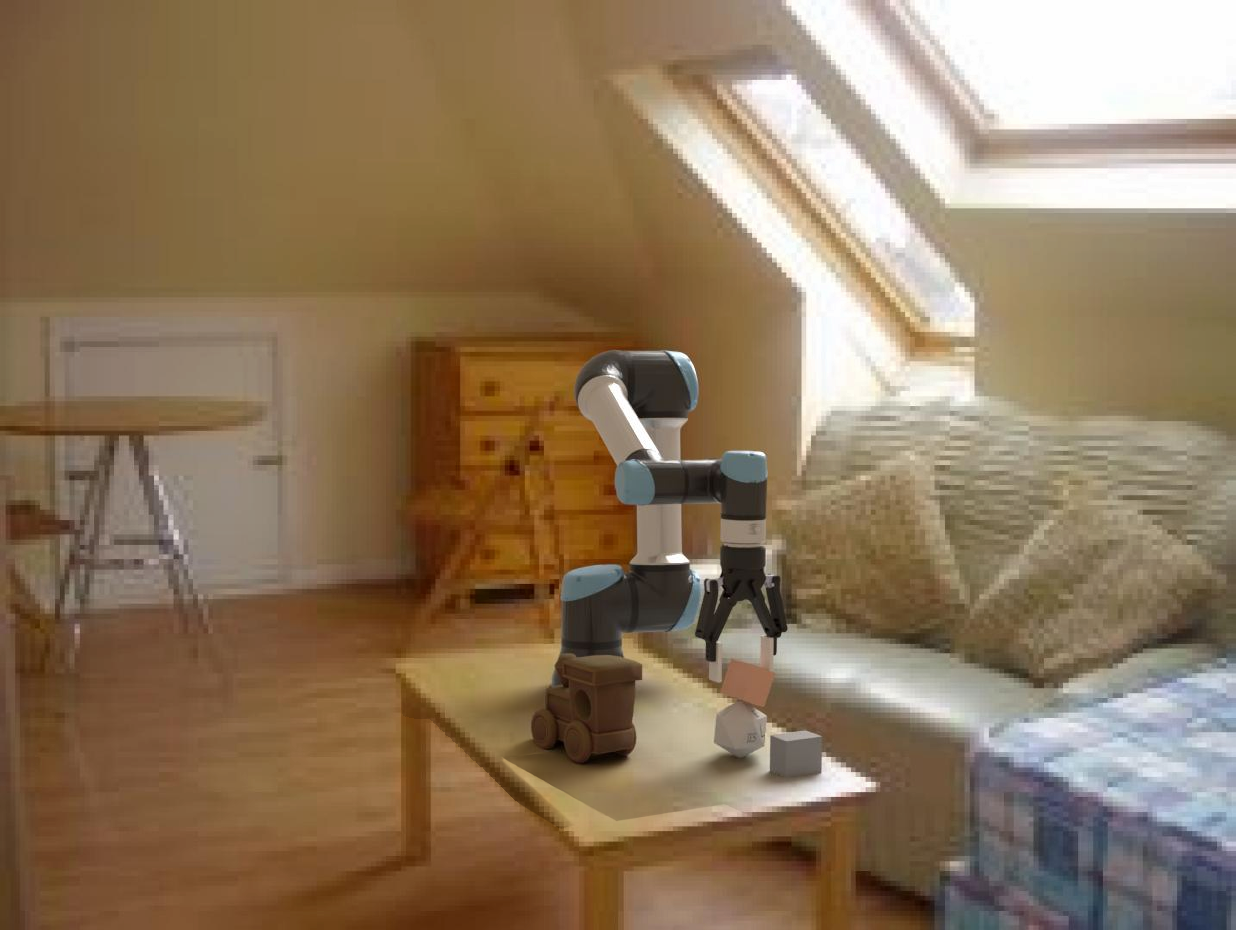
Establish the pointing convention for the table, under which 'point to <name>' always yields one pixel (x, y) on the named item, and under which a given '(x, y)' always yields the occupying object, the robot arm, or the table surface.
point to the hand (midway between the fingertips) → (741, 677)
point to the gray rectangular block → (795, 754)
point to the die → (740, 729)
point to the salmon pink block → (747, 682)
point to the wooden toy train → (589, 706)
